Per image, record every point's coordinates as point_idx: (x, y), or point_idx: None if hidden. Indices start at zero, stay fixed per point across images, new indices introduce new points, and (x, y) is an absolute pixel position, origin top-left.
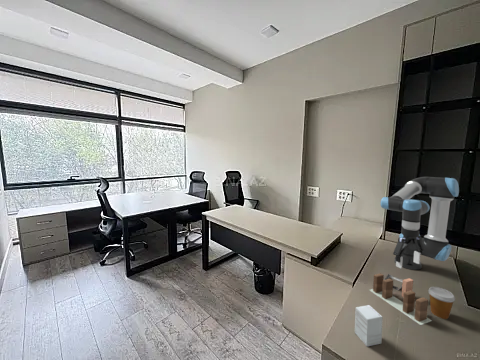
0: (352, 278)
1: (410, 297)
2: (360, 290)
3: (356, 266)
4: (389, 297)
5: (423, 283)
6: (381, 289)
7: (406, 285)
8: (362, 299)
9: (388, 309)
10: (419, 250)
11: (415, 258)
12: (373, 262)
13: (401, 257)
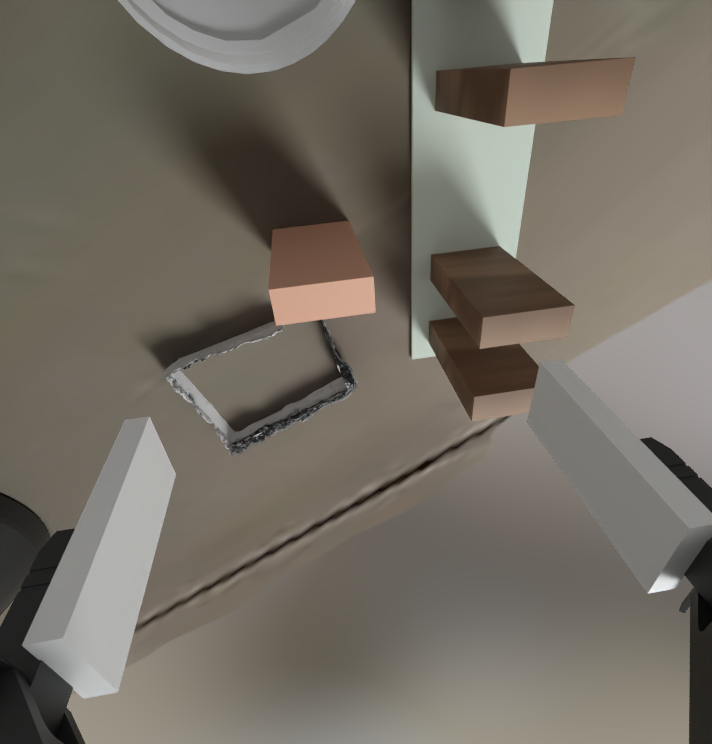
0: (479, 448)
1: (566, 62)
2: (548, 352)
3: (348, 532)
4: (461, 252)
5: (17, 345)
6: (448, 326)
7: (363, 262)
8: (626, 279)
9: (584, 150)
10: (24, 738)
11: (147, 518)
12: (205, 557)
13: (709, 515)
